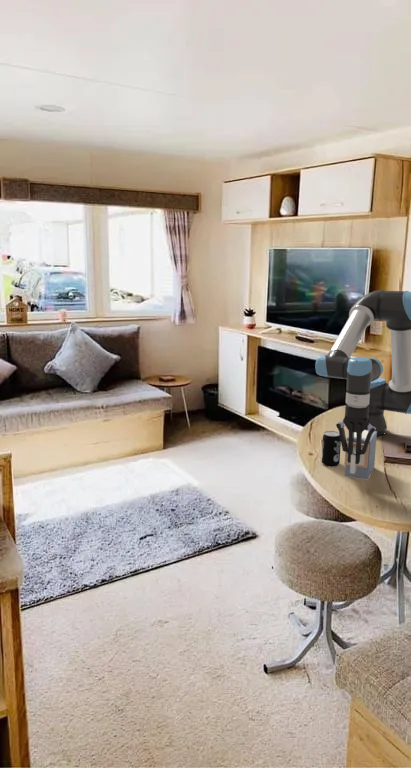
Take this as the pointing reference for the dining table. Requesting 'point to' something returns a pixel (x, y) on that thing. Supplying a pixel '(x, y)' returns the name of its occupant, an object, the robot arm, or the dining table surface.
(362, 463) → the stub
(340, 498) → the dining table surface
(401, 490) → the dining table surface
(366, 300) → the robot arm
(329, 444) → the beverage can
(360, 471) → the block
